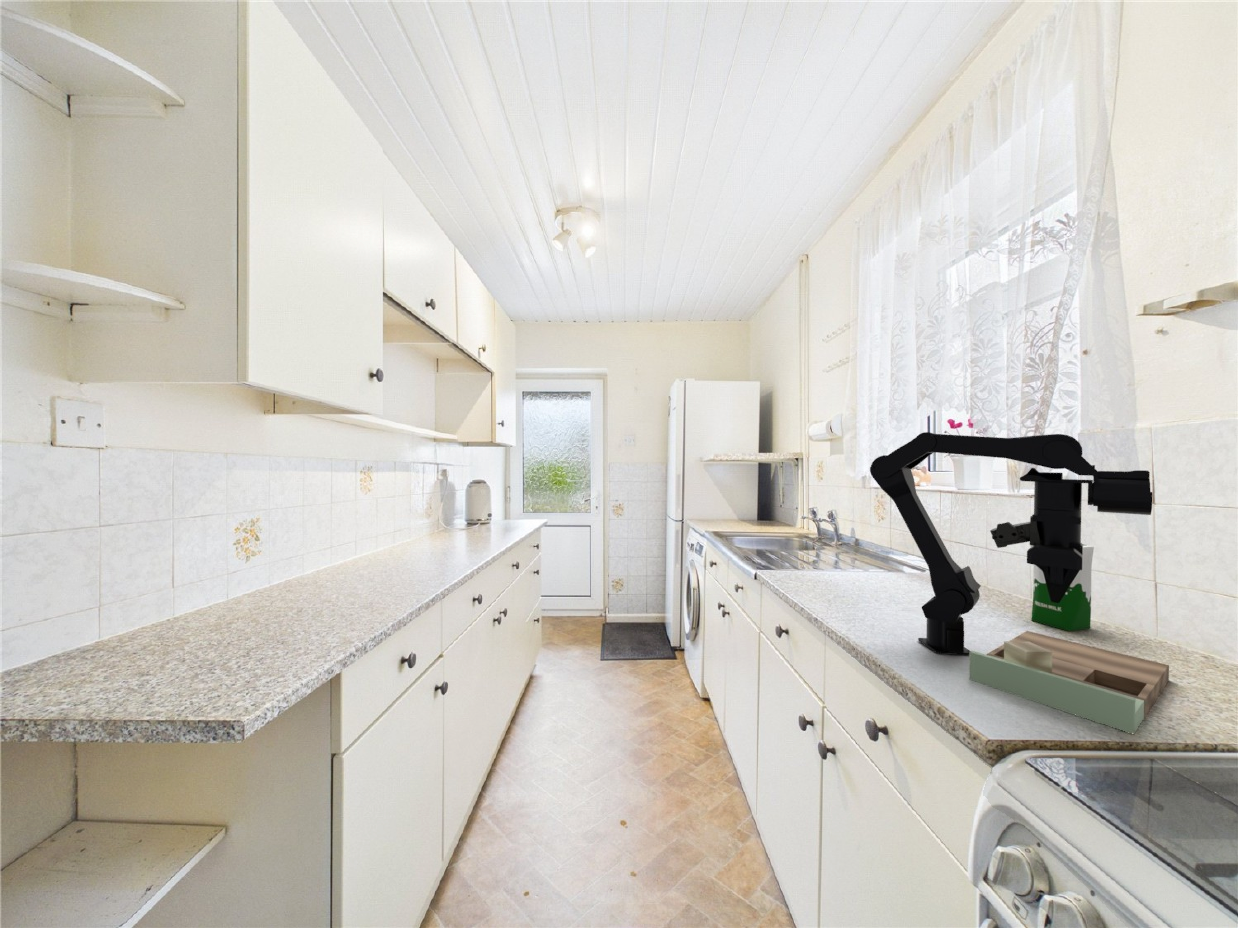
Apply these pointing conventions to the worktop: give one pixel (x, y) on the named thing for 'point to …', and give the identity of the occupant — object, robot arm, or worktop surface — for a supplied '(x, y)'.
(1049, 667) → the maple block
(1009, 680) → the pad
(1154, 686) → the trap board
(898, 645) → the worktop surface
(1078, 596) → the milk carton
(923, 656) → the worktop surface
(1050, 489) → the robot arm
